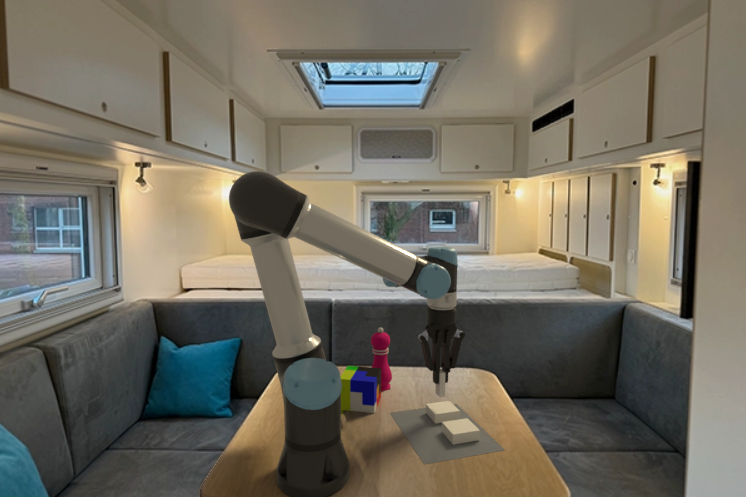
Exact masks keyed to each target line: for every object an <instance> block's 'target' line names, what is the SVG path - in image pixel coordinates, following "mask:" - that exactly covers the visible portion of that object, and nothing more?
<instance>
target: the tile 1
mask: <svg viewBox="0 0 746 497" xmlns="http://www.w3.org/2000/svg"><path fill="white" fill-rule="evenodd" d="M453 404H454V403H453V402H452V401H450V400H446V401H445V400H443V401H439V402H432V403H431V402H430V403H429V402H428V403H425V408H426V414H427V415H428V416H429V417H430V418H431V420H432V421H433V422H434V423H435V424H436V423H442V422H445V421H452V420H459V419H460V411H459V410H458V409H457V408H456V407H455V406H454V405H453Z"/></svg>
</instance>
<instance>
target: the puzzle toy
mask: <svg viewBox="0 0 746 497" xmlns="http://www.w3.org/2000/svg"><path fill="white" fill-rule="evenodd" d="M371 367H372V366H370V367H369V366H357V365H347V366H346V368H345V369H344V371H343V372H342V373H341V374H340V378H341V383H342V388H341V415H345V413H344V411H347V412H348V411H349V412H359V413H360V412H361V413H370V414H375V412H376V410H377V407H378V406H379V403H380V400H381V398H382V391H381V368H371Z"/></svg>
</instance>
